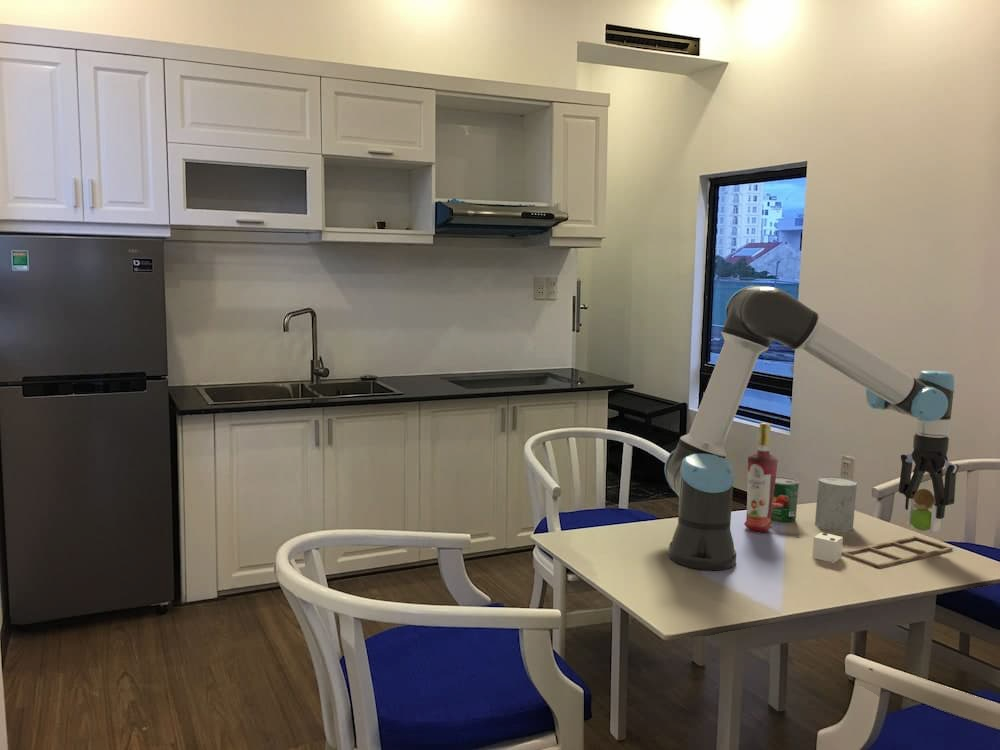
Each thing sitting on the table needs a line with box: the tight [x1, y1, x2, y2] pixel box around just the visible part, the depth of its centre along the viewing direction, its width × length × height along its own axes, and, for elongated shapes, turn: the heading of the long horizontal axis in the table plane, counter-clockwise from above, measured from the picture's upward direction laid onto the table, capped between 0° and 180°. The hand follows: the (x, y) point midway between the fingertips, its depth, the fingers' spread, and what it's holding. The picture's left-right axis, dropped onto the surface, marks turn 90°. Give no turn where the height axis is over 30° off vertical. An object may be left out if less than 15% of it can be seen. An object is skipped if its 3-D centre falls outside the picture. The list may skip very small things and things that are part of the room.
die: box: [811, 531, 844, 564], centre depth 189 cm, size 5×5×5 cm
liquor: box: [743, 422, 779, 534], centre depth 207 cm, size 7×7×28 cm
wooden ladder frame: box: [841, 535, 954, 569], centre depth 195 cm, size 28×10×1 cm, turn 120°
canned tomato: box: [771, 476, 800, 525], centre depth 218 cm, size 8×8×11 cm
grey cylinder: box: [814, 476, 858, 533], centre depth 214 cm, size 10×10×12 cm
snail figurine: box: [910, 488, 936, 532], centre depth 198 cm, size 5×6×12 cm
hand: (922, 527), depth 199 cm, fingers closed on snail figurine, 5 cm apart
